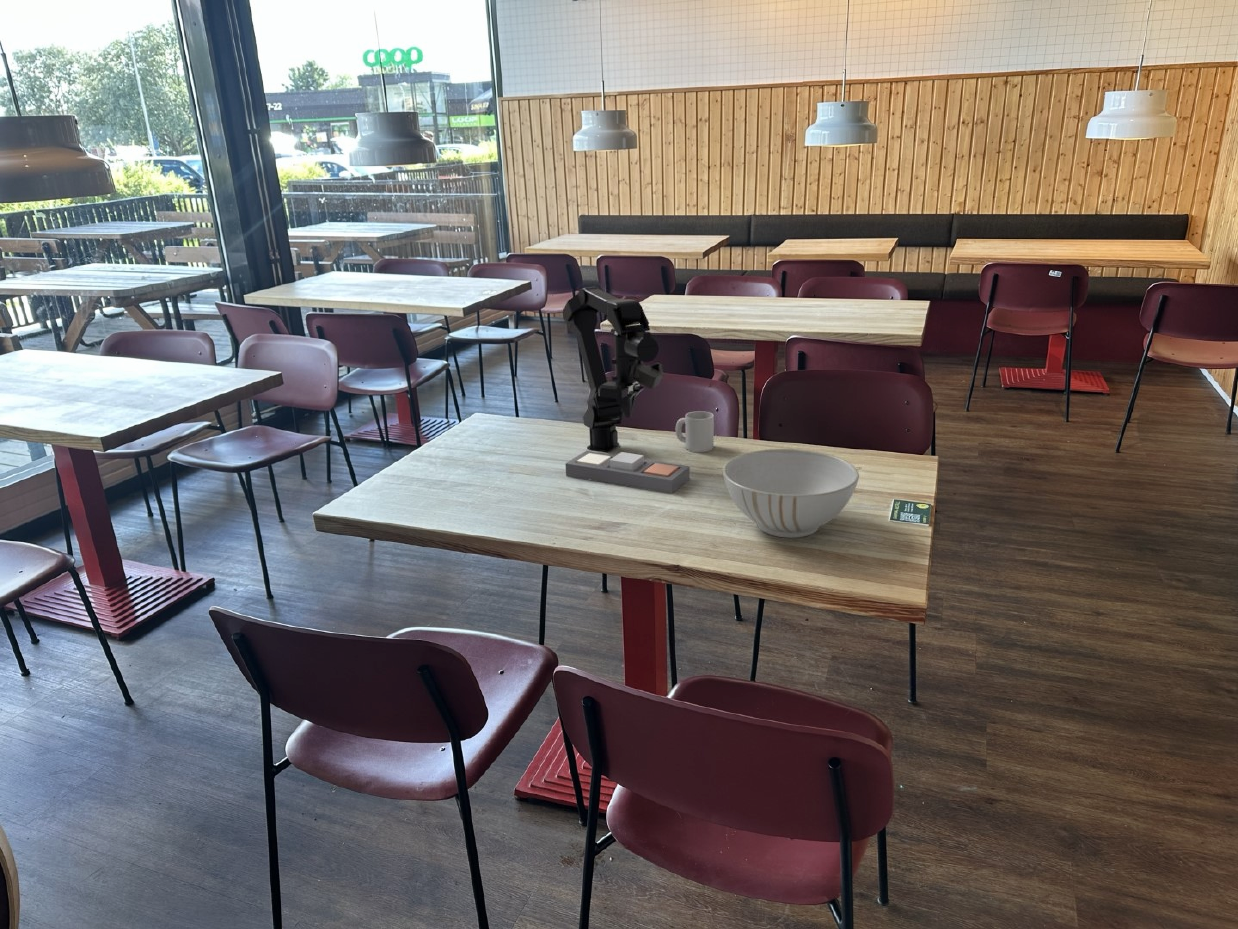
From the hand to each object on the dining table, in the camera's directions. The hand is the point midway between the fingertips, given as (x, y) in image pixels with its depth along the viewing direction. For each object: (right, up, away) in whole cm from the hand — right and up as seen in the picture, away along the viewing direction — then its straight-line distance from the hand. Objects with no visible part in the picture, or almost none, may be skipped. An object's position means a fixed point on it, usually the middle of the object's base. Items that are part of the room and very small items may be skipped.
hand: (628, 416), depth 213 cm
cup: (+17, -7, +14) cm, 23 cm away
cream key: (-8, -12, -1) cm, 15 cm away
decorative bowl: (+32, -24, -33) cm, 53 cm away
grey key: (0, -12, -6) cm, 14 cm away
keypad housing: (0, -15, -5) cm, 16 cm away
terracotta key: (+8, -15, -9) cm, 19 cm away
